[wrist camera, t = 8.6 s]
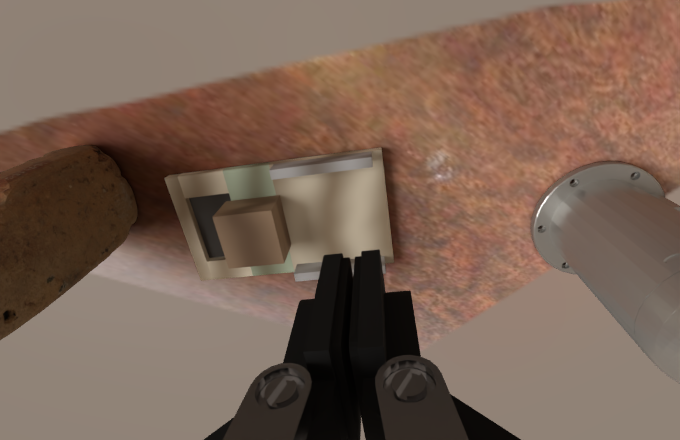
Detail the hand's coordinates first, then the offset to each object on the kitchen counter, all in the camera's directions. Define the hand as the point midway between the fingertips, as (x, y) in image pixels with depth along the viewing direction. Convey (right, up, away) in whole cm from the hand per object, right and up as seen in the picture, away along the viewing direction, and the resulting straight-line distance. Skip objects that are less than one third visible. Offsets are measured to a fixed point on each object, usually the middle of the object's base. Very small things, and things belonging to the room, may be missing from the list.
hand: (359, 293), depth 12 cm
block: (-27, +6, +32) cm, 42 cm away
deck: (-7, +2, +32) cm, 32 cm away
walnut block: (-9, +2, +31) cm, 33 cm away
